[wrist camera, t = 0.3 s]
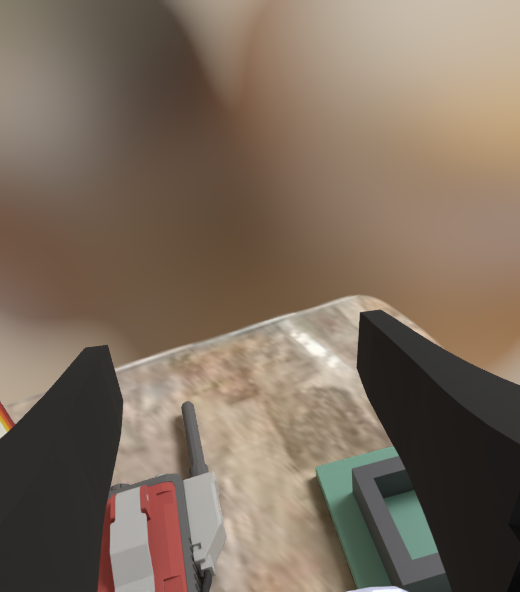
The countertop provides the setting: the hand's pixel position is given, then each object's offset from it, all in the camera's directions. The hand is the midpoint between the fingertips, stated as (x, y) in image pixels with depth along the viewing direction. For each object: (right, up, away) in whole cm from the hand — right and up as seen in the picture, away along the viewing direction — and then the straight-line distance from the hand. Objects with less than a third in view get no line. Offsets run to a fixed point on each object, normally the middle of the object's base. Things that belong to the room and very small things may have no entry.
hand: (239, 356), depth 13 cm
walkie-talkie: (-6, -15, +18) cm, 24 cm away
